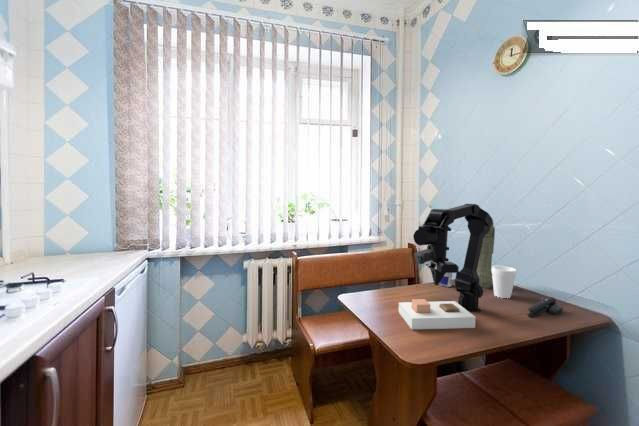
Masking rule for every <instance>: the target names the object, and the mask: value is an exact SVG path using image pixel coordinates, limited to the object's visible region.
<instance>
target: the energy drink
mask: <svg viewBox="0 0 639 426" xmlns="http://www.w3.org/2000/svg"><path fill="white" fill-rule="evenodd" d="M445 262H450V261H449V260H448V261H445ZM452 283H453V273H446V274H445V275H444V276H443V278H442V279H441V281H440V283H439V285H440V286H441V287H444V288H450V287H452V286H453V285H452Z"/></svg>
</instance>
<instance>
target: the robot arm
mask: <svg viewBox="0 0 639 426" xmlns="http://www.w3.org/2000/svg"><path fill="white" fill-rule="evenodd" d="M462 218H464V219H465V220H466V222H467V229H468V232H469V234H470V235H469V239H468V244H467V248H466V253H465V258H464V262H463V266H462V267H463V268H462V269H460V268H459V267H460V266H458V264H456V263H454V262H452V261H449V258H448V257H447V252H448V251H449V250H450V247H449V246H448V236H449V235H448V234H449V233H448V232H452V228H451V227H450V225H452V224H453V223H454V221H455V220H457V219H462ZM492 223H493V224H494V219H493V217H492V216H491V214H490V213H489V212H487V210H485V209H483V208H481V207H480V206H479V205H478V204H476V203H465V204H463V205H458V206H455V207H451V208H450V207H449V208H445V209H444V208H432V209H431V210H430V211H429V213H428V215H427V216H426V218H425V220H424V222H423V224H422V225H419V226H418V229H417V230H415V232H414V234H413V240H414V241H413V242H414V243H415V244H416V245H417V246H426V249H422V250H420V251H416V252H414V253H413V257H414V260H415V263H418V264H420V265H423V264H425V263H426V264H425V266H427V268H428V269H430V272H431V276H432V280H433V284H434V285H435V286H439V285H440V281H441V279H442V278H443V276H444V275H445V274H446V273H452V274H454V273H455V278H454V285H455V291H456V292H459V295H458V302H457V303H458V304H459V305H461V306H462V307H463V308H465V309H466V310H467V311H468V312H481V309H480V308H479V298H482V297H483V294H484V288H481V286H480V285H479V280H480V279H479V276H478V274H477V267H478V262H479V257H480V253H481V248H482V243H483V238H484V236H485V235H486V234H487V233H488V232H489V231H490V228H491V225H492ZM445 261H449V262H445ZM459 269H460V270H459Z"/></svg>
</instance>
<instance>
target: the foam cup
mask: <svg viewBox="0 0 639 426" xmlns="http://www.w3.org/2000/svg"><path fill="white" fill-rule="evenodd" d="M517 270H518V269H516V268H515V267H510V266H506V265H493V266H492V265H491V272H492V286H493V288H492V289H493V295H494V297H496V296H497V298H499V297H500V298H499V299H503V298H507V300H508V298H509V299H510V297H511V296H512V293H513V288H514V285H515V279H516V276H517Z"/></svg>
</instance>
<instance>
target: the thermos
mask: <svg viewBox="0 0 639 426" xmlns="http://www.w3.org/2000/svg"><path fill="white" fill-rule="evenodd" d="M495 233H496V228H495V226H494V222H493V223H492V225H491V228H490V231H489V232H488V233H487V234H486V235H485V236H484V238H483V243H482V248H481V253H480V257H479V262H478V267H477V274H478V276H479V279H480V280H479V285H480V286H481V288H482V289H484V288H488V289H491V288H492V284H493V277H492V261H493V254H494V246H495ZM490 287H491V288H490Z"/></svg>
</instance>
